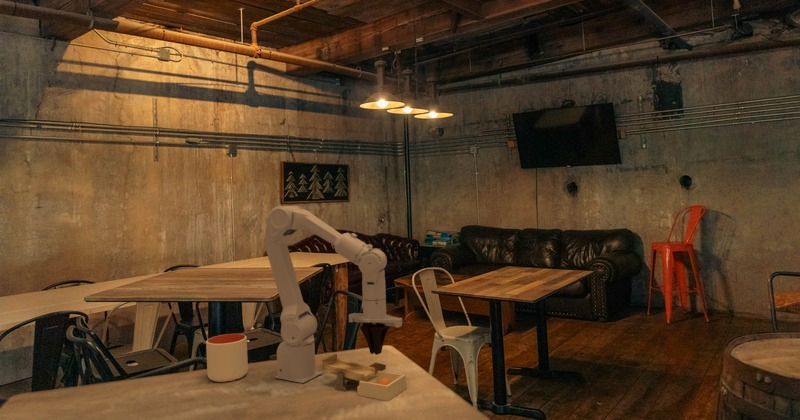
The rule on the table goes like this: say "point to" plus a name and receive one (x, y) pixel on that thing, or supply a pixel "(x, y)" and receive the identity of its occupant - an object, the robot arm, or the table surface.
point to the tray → (382, 386)
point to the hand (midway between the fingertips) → (375, 353)
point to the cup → (227, 357)
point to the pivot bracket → (344, 382)
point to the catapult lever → (350, 368)
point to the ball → (384, 381)
